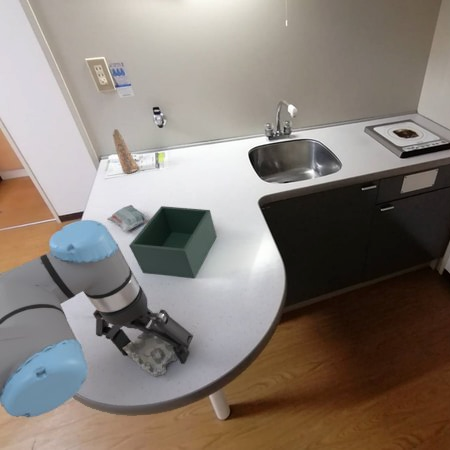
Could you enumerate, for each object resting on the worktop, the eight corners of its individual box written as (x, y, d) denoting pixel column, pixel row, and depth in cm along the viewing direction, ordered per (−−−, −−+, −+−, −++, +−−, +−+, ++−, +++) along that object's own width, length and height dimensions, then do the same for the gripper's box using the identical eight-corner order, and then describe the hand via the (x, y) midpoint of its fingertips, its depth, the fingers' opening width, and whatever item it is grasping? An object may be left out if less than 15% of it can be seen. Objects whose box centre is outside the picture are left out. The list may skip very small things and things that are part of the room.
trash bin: (142, 272, 87) (128, 245, 80) (171, 232, 100) (161, 206, 94) (194, 278, 85) (185, 251, 78) (216, 236, 99) (209, 209, 92)
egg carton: (126, 356, 68) (119, 347, 66) (154, 330, 73) (149, 321, 70) (156, 383, 64) (150, 374, 61) (184, 353, 69) (179, 344, 66)
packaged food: (126, 237, 99) (120, 225, 96) (108, 223, 104) (102, 211, 101) (151, 224, 104) (146, 212, 101) (133, 211, 110) (128, 200, 107)
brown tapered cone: (141, 168, 135) (128, 168, 135) (128, 127, 125) (113, 127, 126) (134, 174, 129) (120, 174, 130) (119, 130, 120) (104, 131, 120)
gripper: (193, 286, 56) (215, 344, 70) (70, 273, 59) (115, 331, 73) (174, 322, 50) (203, 378, 64) (40, 305, 53) (95, 362, 67)
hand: (156, 353), depth 69 cm, fingers open, 13 cm apart
